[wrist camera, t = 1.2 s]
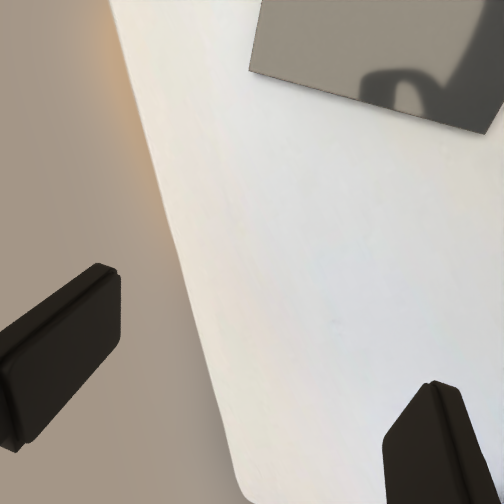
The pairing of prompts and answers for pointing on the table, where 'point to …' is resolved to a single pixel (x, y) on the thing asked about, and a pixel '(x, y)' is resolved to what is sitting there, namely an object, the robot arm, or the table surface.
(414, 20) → the board
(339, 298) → the table surface
